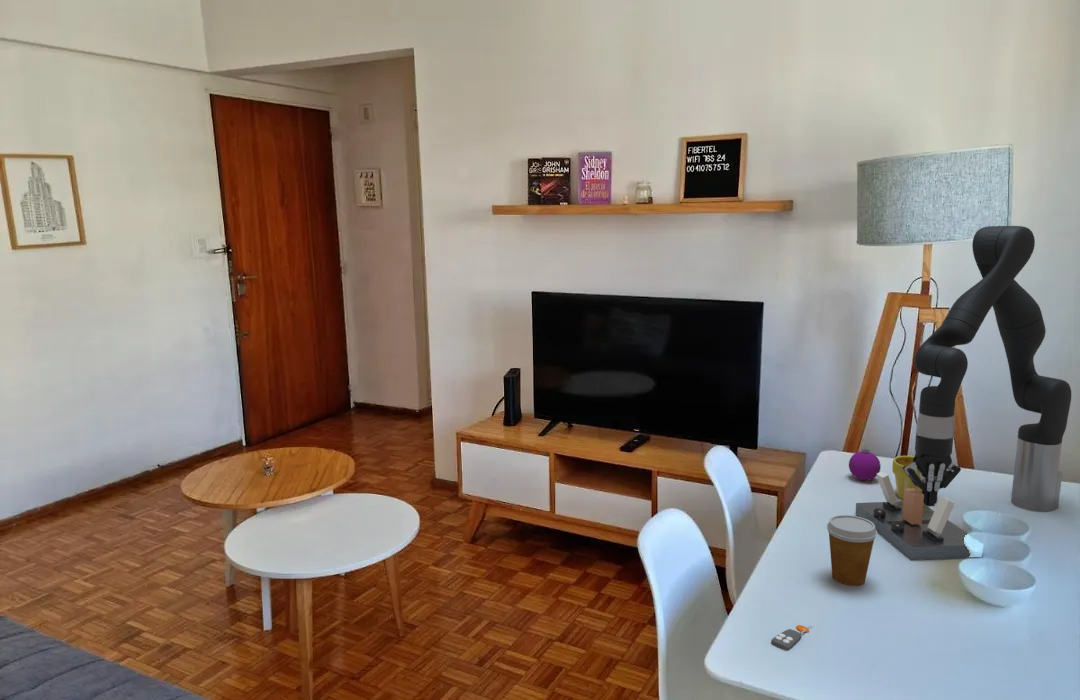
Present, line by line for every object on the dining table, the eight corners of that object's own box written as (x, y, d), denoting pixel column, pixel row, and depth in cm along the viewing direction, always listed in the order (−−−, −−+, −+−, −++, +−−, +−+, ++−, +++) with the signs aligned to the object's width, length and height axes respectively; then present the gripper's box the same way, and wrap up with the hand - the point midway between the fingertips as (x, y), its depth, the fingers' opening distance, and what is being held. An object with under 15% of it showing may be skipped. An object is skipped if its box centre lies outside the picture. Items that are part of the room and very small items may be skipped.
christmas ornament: (848, 473, 213) (850, 439, 211) (879, 476, 210) (881, 442, 208) (847, 482, 206) (849, 448, 204) (879, 486, 202) (882, 451, 201)
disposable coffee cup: (871, 571, 155) (875, 517, 153) (875, 592, 146) (880, 535, 144) (823, 564, 158) (826, 511, 156) (824, 585, 149) (827, 529, 147)
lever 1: (891, 500, 181) (881, 470, 180) (899, 506, 178) (889, 476, 176) (885, 502, 181) (875, 473, 180) (894, 508, 178) (883, 478, 176)
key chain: (789, 654, 127) (789, 646, 127) (769, 645, 129) (769, 638, 129) (824, 625, 136) (825, 618, 135) (805, 618, 138) (805, 610, 138)
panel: (917, 511, 185) (918, 494, 184) (982, 557, 160) (984, 537, 159) (855, 514, 184) (856, 497, 183) (911, 560, 159) (912, 540, 158)
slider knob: (912, 517, 173) (914, 488, 172) (921, 524, 169) (924, 494, 168) (902, 517, 173) (904, 488, 172) (911, 524, 169) (913, 495, 168)
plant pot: (942, 504, 189) (945, 468, 187) (901, 505, 189) (903, 468, 188) (922, 490, 199) (925, 455, 198) (883, 490, 199) (886, 455, 198)
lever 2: (930, 531, 165) (945, 497, 164) (940, 538, 161) (956, 503, 160) (924, 529, 165) (939, 495, 163) (934, 536, 161) (950, 501, 160)
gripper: (952, 427, 172) (946, 498, 175) (897, 429, 171) (892, 500, 174) (973, 436, 164) (966, 510, 167) (915, 438, 164) (910, 512, 167)
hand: (928, 505), depth 171 cm, fingers closed
